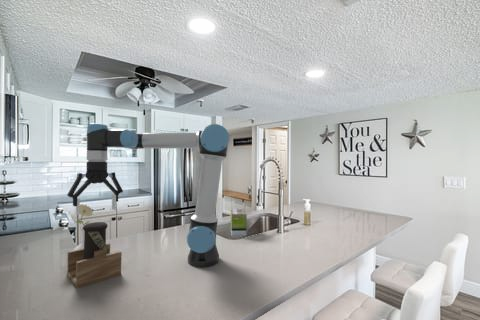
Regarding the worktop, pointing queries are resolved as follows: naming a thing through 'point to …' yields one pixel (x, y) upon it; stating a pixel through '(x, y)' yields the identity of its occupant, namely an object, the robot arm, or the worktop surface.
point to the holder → (93, 266)
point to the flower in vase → (86, 212)
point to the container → (94, 238)
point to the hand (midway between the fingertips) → (96, 211)
